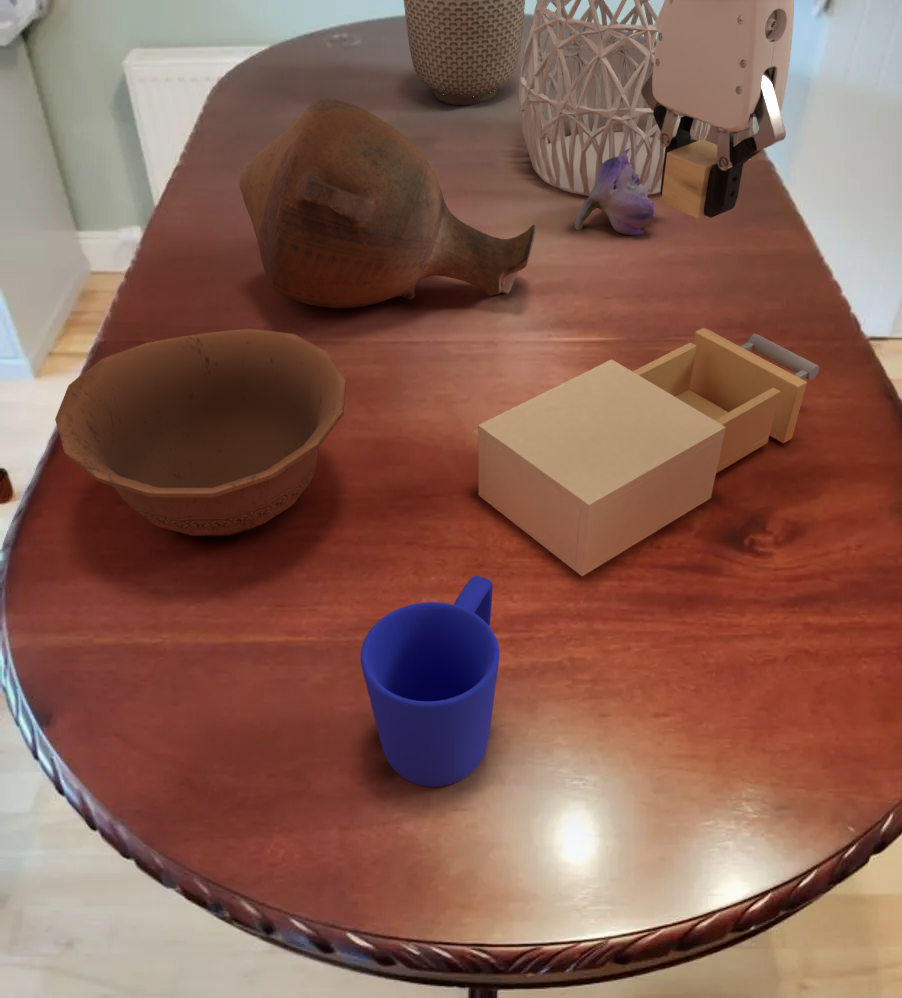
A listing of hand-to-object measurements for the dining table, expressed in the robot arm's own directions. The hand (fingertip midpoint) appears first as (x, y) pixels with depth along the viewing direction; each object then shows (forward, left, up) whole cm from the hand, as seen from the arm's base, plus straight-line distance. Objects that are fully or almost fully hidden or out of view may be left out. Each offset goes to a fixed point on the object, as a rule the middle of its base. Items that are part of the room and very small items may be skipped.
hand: (697, 199), depth 84 cm
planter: (-31, -71, -17) cm, 79 cm away
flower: (-17, -25, -17) cm, 35 cm away
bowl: (+43, -10, -17) cm, 47 cm away
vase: (-29, -38, -17) cm, 51 cm away
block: (0, 0, 0) cm, 0 cm away
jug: (+12, -29, -17) cm, 36 cm away
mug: (+43, +20, -17) cm, 50 cm away
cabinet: (+19, +9, -17) cm, 27 cm away
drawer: (+5, +9, -16) cm, 19 cm away
